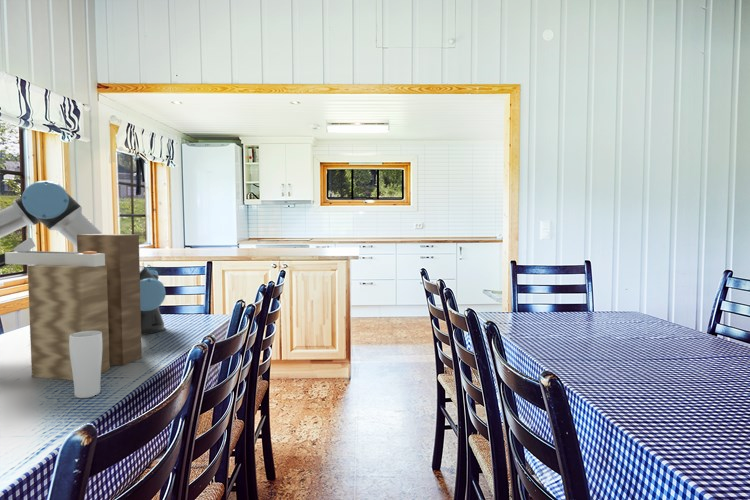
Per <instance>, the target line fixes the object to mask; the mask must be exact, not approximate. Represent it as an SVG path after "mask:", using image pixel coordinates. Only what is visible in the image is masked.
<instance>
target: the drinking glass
mask: <svg viewBox="0 0 750 500" xmlns="http://www.w3.org/2000/svg"><path fill="white" fill-rule="evenodd" d="M102 352H103V340H102V332H100V331H83V332H77V333H73V334H71V335H70V336H69V353H70V361H71V368H72V375H73V380H72V381H73V390H74V391H73V393H74V397H75V398H76V399H88V398H89V399H90V398H93V397H95V395H96V396H98V395H99V394H100V393H101V379H102V373H101V366H102Z"/></svg>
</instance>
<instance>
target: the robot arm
mask: <svg viewBox="0 0 750 500" xmlns="http://www.w3.org/2000/svg"><path fill="white" fill-rule="evenodd" d="M82 212H83V211H82V206H81V205H80V203H78V202H77V201H76V200H75V199H74V198H73V197H72V196H71V195H70V194H69V193H68V191H66V189H65V188H64V187H62V186H61V184H58V183H56V182H54V181H51V180H38V181H34V182H32V183H31V184H29V185H28V186H27V187H26V188H25V189H24V191H23V192H22V194H21V197H19V198H17V199H14V200H13V202H12V205H9V206H8V207H7V206H6V207H5V208H3V209H1V210H0V239H1V238H3V237H6V236H8V235H9V234H13V233H14V232H15V231H18V230H20V229H22V228H24V227H26V226H29V225H30V226H36V225H37V224H39V223H41V224H42V225H43V226H44V227H46V228H47V230H49V231H56V232H59V233H60V234H61V235H62V236H63V237H65V238H66V239H67V240H68V241H69V243H71V244H72V245H73V246H74V247H75V248H77V235H80V234H103V232H101V231H100V230H99V229H98V227H96V226H95V225H94V224H93V223H92V222H91V221H90V220H89V219H88V218H87V217H86V216H85V215H84V214H83V213H82ZM35 247H36V244H35V242H34V240H33V238H32V237H28V238H27V239H26V240H24V241H22V242H21V243H19V244H17V245H16V246H14V247H13V248H12V249H13V250H10V251H9V252H17V251H31V250H32V249H34V248H35ZM9 265H11V264H5V252H4V253H1V254H0V270H1V269H3V268H5V267H7V266H9ZM166 295H167V293H166V287H165V286H164V284H163V282H161V281H160V280H159V273H158V271H157V270H154V269H153V270H152V269H151V270H148V269H147V268H145V266H142V265H141V266H140V306H141V335H148V334H155V333H158V332H162V331H163V330H164V329H165V322H164V319H163V317H162V314H161V312H160V306H161V305H162V304H163V303H164V301H165V298H166Z"/></svg>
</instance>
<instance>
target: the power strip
mask: <svg viewBox="0 0 750 500" xmlns="http://www.w3.org/2000/svg"><path fill="white" fill-rule="evenodd" d="M4 253H5V264H10V265H20V266H21V265H24V266H25V265H26V266H31V265H56V266H91V267H96V266H104V265H105V254H100V253H97V251H86V252H83V253H80V252H77V251H47V250H46V251H39V250H29V251H17V252H10V251H8V252H7V251H5V252H4Z"/></svg>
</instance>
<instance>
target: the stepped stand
mask: <svg viewBox="0 0 750 500" xmlns="http://www.w3.org/2000/svg"><path fill="white" fill-rule="evenodd" d="M76 249H77V251H76V252H80V253H83V252H86V251H97V253H100V254H105V265H104V266H96V267H91V266H56V265H27V282H28V283H27V285H28V287H27V288H28V289H27V290H28V305H29V306H28V307H29V308H28V309H29V310H28V311H29V335H30V336H29V337H30V359H31V360H30V362H31V377H32V378H41V379H42V378H44V379H54V380H66V379H67V380H68V381H69V380H70V381H73V375H72V368H71V361H70V353H69V336H70V335H71V334H73V333H77V332H83V331H100V332H102V340H103V352H102V366H101V374H103V373H105V372H108V371H110V367H111V366H122V367H123V366H126V365H128V364H130V363H133V362H135V361H137V360H140V359H142V358H143V356H142V353H143V351H142V334H141V306H140V235H139V234H134V233H133V234H128V233H127V234H126V233H124V234H123V233H121V234H120V233H117V234H115V233H102V234H80V235H77V247H76Z"/></svg>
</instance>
